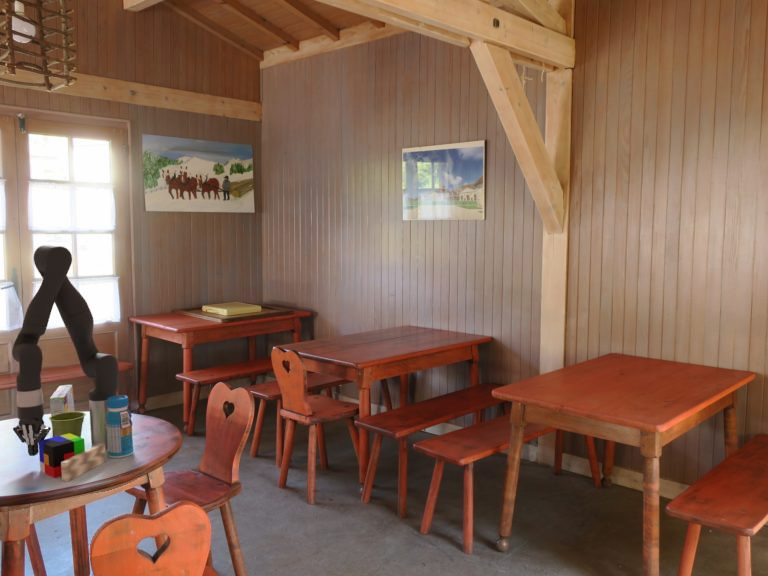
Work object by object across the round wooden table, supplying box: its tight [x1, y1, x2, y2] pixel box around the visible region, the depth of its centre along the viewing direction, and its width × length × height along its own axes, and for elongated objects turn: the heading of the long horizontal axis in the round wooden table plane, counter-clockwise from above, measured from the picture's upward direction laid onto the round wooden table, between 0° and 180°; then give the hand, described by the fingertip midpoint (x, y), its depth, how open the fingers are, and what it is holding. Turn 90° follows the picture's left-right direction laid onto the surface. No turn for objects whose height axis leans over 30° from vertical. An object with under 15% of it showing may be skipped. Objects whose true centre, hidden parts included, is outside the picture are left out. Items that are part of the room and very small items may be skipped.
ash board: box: [61, 444, 107, 483], centre depth 210 cm, size 18×2×6 cm, turn 166°
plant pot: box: [48, 411, 86, 438], centre depth 235 cm, size 12×12×11 cm
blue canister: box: [106, 395, 134, 459], centre depth 225 cm, size 8×8×20 cm
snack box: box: [49, 384, 76, 437], centre depth 257 cm, size 21×6×15 cm, turn 17°
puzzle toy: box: [38, 433, 86, 479], centre depth 211 cm, size 10×10×10 cm
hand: (33, 455), depth 214 cm, fingers closed
